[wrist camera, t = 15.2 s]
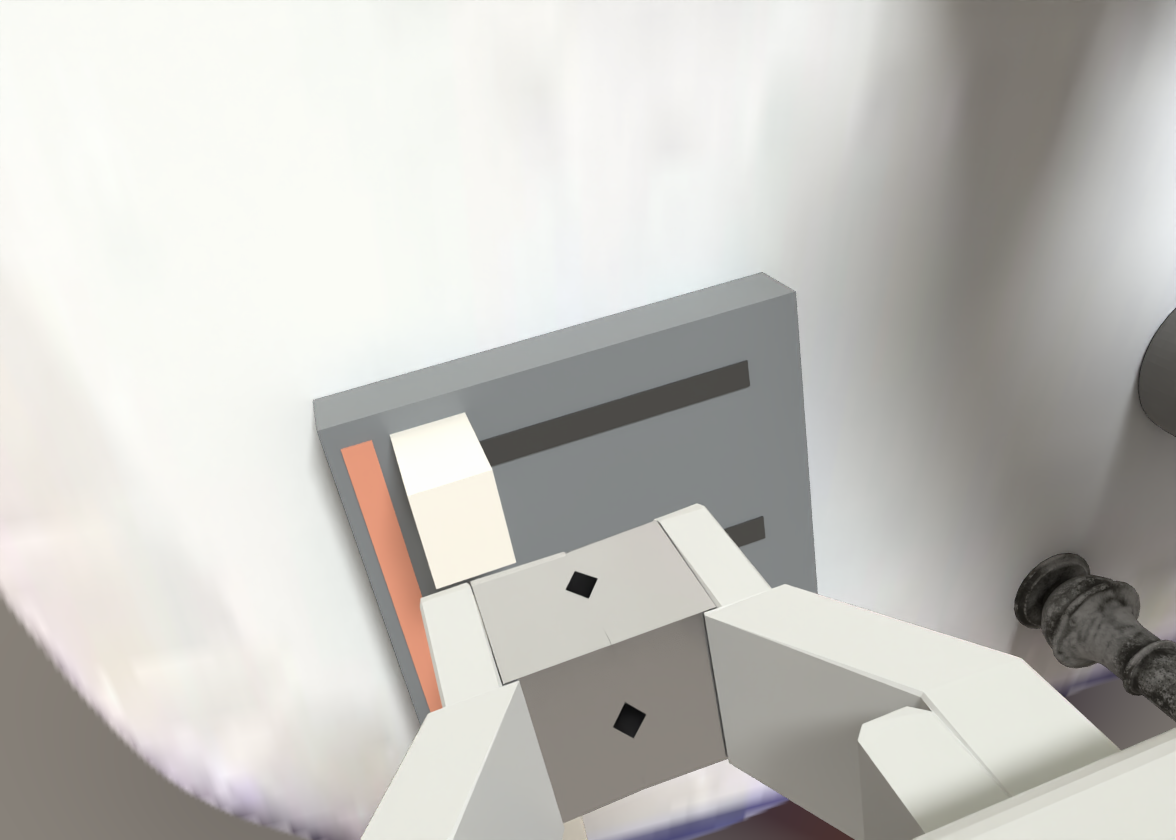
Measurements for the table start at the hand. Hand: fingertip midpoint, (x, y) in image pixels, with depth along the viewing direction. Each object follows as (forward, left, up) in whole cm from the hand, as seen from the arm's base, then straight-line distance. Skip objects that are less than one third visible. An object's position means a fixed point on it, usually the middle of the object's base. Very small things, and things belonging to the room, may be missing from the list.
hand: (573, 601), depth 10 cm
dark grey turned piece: (-33, +34, -29) cm, 55 cm away
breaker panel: (-6, +20, -29) cm, 35 cm away
